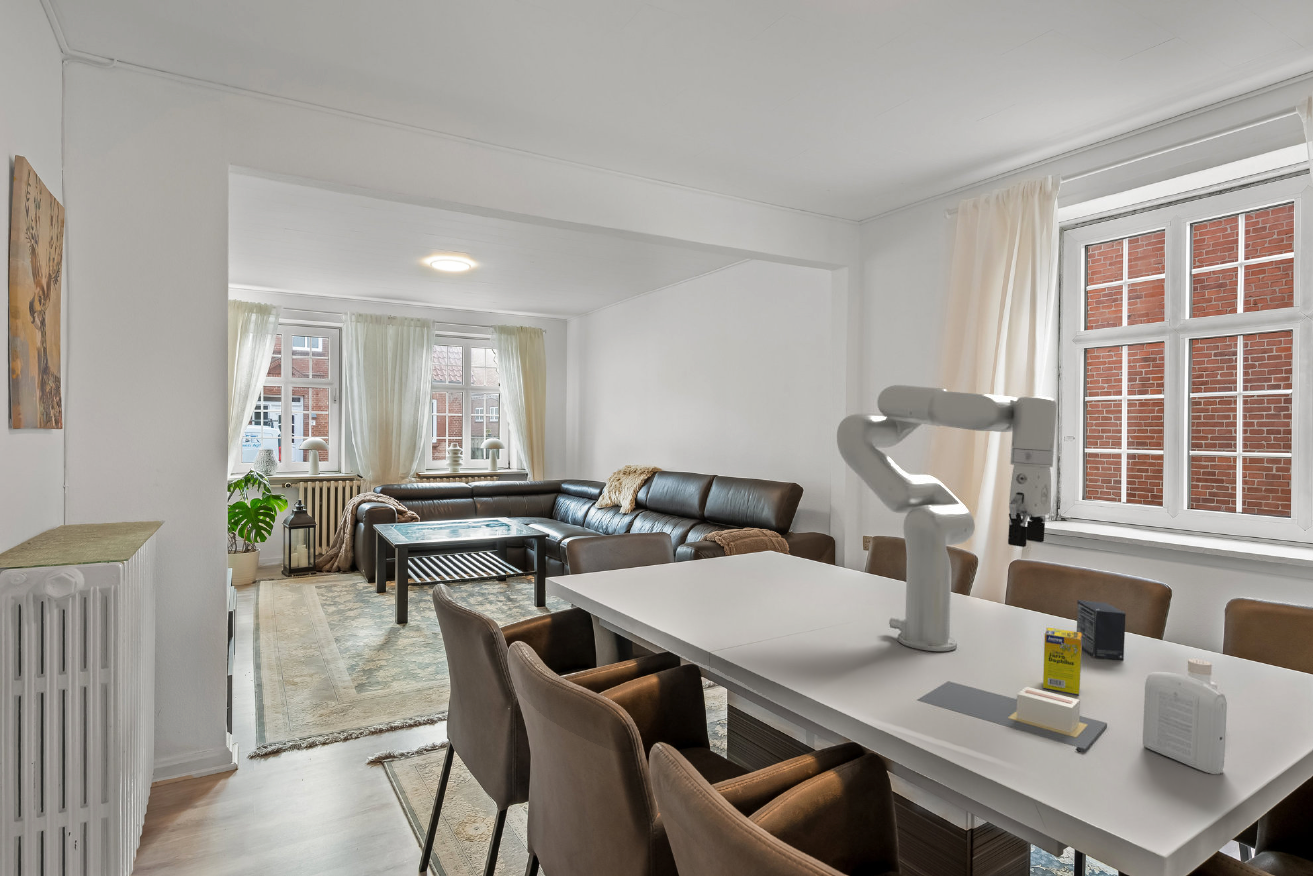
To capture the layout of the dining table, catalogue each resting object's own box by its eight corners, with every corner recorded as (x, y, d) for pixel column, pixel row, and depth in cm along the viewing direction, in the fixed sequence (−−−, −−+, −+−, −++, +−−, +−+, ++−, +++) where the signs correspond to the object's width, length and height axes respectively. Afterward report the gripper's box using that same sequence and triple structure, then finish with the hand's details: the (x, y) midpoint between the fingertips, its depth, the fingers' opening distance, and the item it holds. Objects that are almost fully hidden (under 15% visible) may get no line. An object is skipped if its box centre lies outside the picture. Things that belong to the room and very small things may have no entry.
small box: (1126, 661, 151) (1128, 612, 151) (1093, 658, 152) (1094, 610, 152) (1105, 646, 162) (1107, 601, 161) (1074, 644, 163) (1075, 599, 163)
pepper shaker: (1203, 723, 118) (1205, 666, 118) (1178, 714, 122) (1180, 659, 122) (1218, 719, 120) (1219, 664, 120) (1192, 711, 123) (1194, 657, 123)
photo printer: (1230, 772, 101) (1233, 686, 100) (1212, 777, 99) (1215, 690, 99) (1154, 742, 110) (1157, 664, 110) (1137, 747, 108) (1139, 667, 108)
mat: (916, 703, 124) (916, 699, 124) (948, 684, 134) (948, 680, 134) (1085, 753, 106) (1085, 748, 106) (1107, 726, 116) (1107, 722, 116)
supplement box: (1079, 699, 128) (1081, 639, 128) (1042, 692, 131) (1044, 633, 131) (1080, 689, 133) (1082, 632, 133) (1044, 683, 136) (1046, 626, 136)
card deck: (1071, 733, 111) (1071, 707, 111) (1016, 718, 116) (1017, 693, 116) (1079, 724, 115) (1079, 699, 115) (1025, 710, 120) (1026, 686, 120)
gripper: (1036, 460, 132) (1030, 551, 133) (1066, 459, 144) (1061, 542, 144) (995, 457, 137) (989, 544, 138) (1027, 456, 149) (1022, 536, 150)
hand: (1026, 543), depth 141 cm, fingers open, 9 cm apart
